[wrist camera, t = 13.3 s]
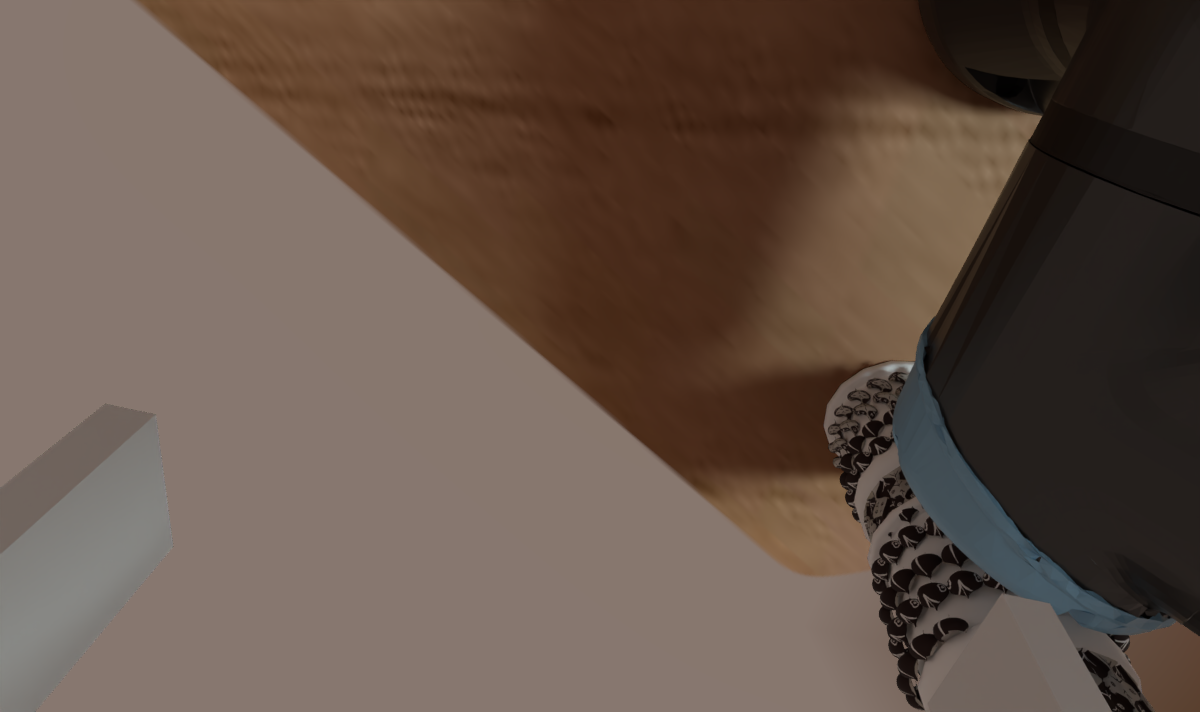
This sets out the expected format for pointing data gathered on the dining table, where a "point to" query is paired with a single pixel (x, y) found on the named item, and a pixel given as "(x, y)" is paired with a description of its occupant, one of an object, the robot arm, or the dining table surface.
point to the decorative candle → (932, 555)
